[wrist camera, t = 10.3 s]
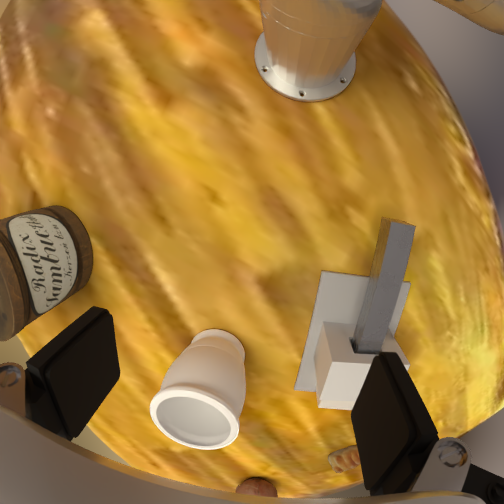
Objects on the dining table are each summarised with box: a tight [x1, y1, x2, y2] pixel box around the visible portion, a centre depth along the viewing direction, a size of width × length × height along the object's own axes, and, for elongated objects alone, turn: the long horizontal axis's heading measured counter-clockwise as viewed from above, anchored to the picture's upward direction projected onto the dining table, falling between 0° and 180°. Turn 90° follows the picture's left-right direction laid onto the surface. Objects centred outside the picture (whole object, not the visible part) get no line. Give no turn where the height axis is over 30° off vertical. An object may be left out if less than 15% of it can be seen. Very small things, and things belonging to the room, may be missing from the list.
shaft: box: [351, 217, 416, 355], centre depth 32 cm, size 20×3×3 cm, turn 173°
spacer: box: [316, 384, 356, 410], centre depth 39 cm, size 5×6×4 cm
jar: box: [150, 329, 246, 450], centre depth 35 cm, size 11×10×15 cm
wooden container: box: [0, 206, 93, 341], centre depth 30 cm, size 15×15×22 cm
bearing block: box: [294, 270, 411, 401], centre depth 35 cm, size 20×13×10 cm, turn 173°
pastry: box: [328, 445, 361, 473], centre depth 45 cm, size 9×7×4 cm
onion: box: [236, 478, 278, 497], centre depth 48 cm, size 10×9×10 cm
